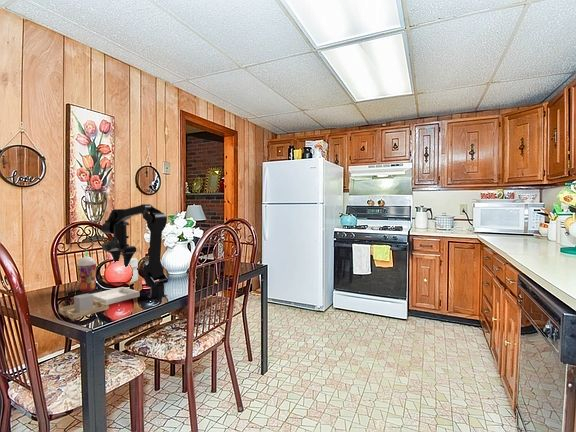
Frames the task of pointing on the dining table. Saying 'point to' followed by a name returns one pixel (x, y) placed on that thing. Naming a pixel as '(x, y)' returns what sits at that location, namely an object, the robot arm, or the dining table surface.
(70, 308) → the oak tray
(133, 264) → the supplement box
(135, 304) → the dining table surface
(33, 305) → the dining table surface
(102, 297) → the bin
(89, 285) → the smoothie
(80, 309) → the stone block
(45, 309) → the dining table surface
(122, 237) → the robot arm
